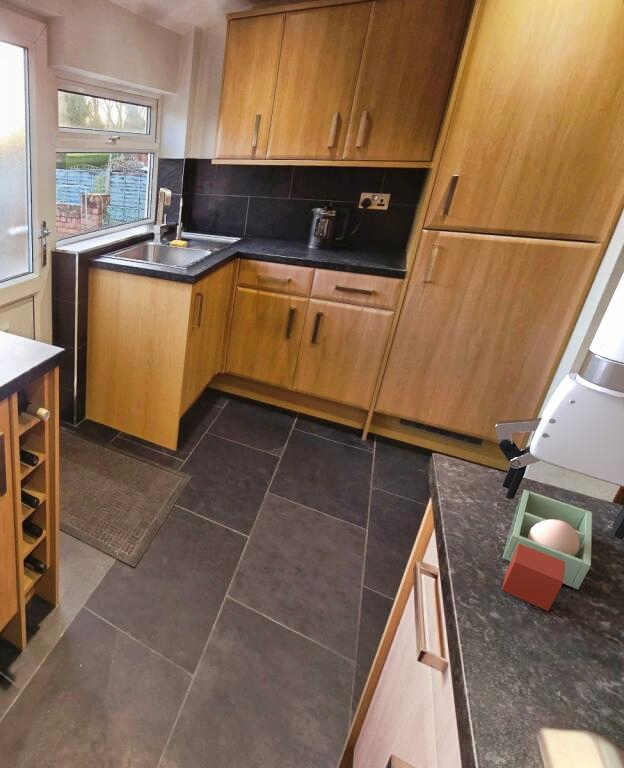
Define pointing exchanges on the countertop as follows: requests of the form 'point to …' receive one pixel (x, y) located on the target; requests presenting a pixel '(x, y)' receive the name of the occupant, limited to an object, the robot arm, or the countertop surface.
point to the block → (534, 577)
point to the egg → (556, 536)
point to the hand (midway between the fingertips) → (561, 512)
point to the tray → (545, 508)
